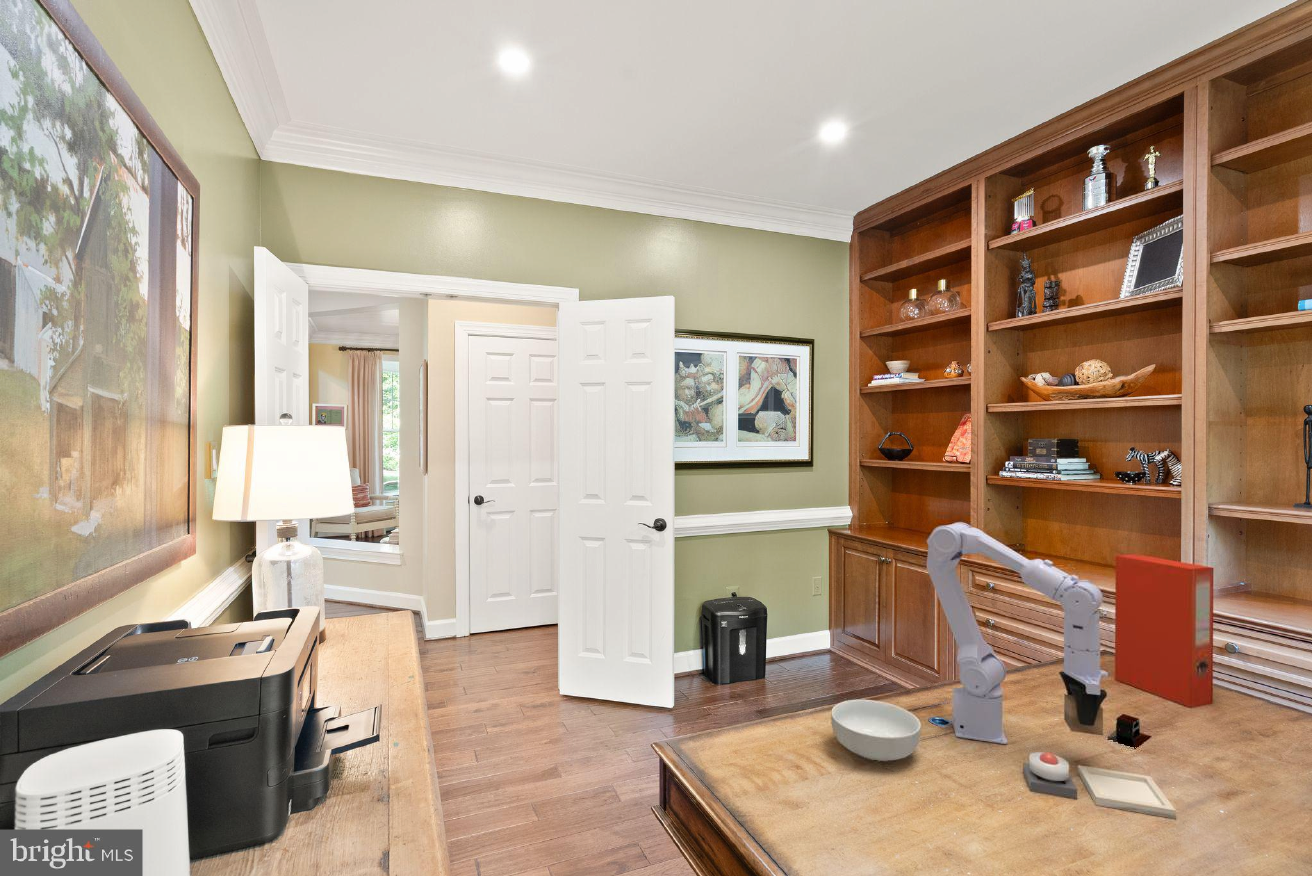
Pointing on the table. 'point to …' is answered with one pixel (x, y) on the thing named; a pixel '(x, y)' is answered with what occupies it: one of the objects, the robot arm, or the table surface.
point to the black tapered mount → (1128, 732)
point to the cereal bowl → (876, 729)
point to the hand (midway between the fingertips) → (1082, 718)
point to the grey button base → (1049, 784)
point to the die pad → (1126, 791)
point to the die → (1073, 720)
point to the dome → (1049, 766)
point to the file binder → (1165, 628)
